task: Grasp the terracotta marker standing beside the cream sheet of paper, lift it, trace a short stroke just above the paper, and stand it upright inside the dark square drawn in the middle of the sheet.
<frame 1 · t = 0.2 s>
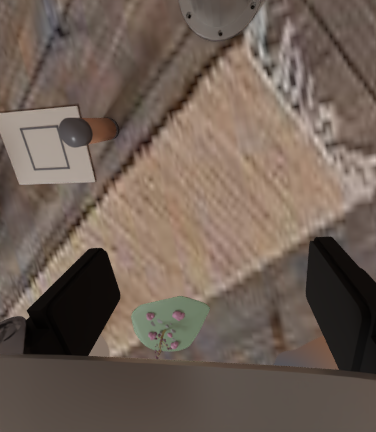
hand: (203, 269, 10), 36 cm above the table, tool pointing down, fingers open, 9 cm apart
paper sheet: (46, 148, 48), on the table
marker: (109, 128, 44), on the table
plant: (171, 320, 65), on the table
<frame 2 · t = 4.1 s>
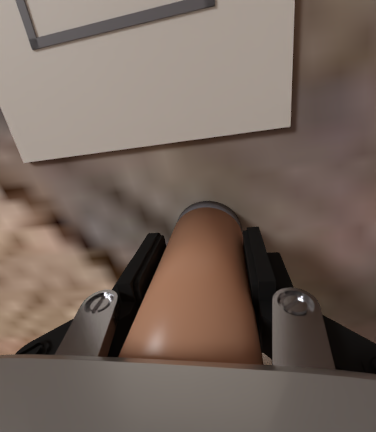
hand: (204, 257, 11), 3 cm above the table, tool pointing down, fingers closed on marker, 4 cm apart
marker: (208, 231, 14), on the table, touching gripper
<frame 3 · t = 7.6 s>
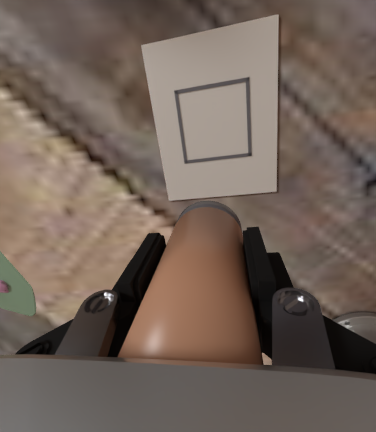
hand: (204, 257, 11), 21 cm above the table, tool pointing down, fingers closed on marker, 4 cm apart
paper sheet: (214, 124, 28), on the table
marker: (208, 231, 14), point 18 cm above the table, touching gripper
when the fingers open (4 cm above the table, at t = 11.2 s): marker stays where it is, resting on paper sheet.
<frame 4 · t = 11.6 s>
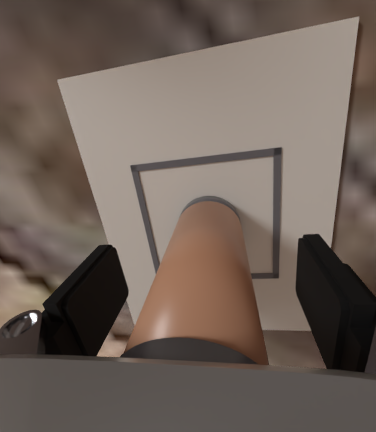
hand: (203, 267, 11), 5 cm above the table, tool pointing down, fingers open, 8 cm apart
paper sheet: (209, 222, 15), on the table
marker: (209, 224, 15), resting on paper sheet
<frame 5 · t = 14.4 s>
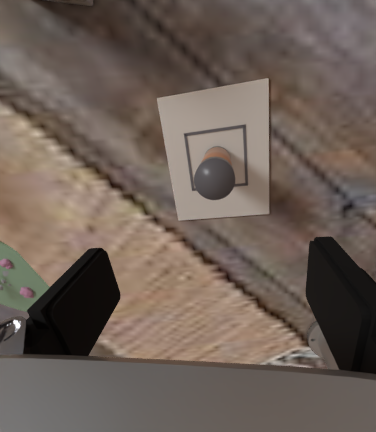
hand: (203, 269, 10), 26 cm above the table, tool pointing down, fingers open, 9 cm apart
paper sheet: (216, 159, 34), on the table
marker: (216, 159, 34), resting on paper sheet
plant: (13, 280, 52), on the table
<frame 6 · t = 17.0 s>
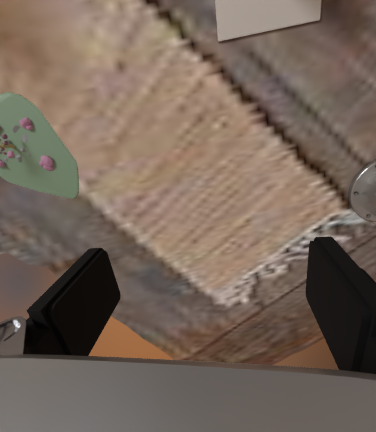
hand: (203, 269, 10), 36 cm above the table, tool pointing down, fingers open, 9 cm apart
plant: (32, 152, 50), on the table
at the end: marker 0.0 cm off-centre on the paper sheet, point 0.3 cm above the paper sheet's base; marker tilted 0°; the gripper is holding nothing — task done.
